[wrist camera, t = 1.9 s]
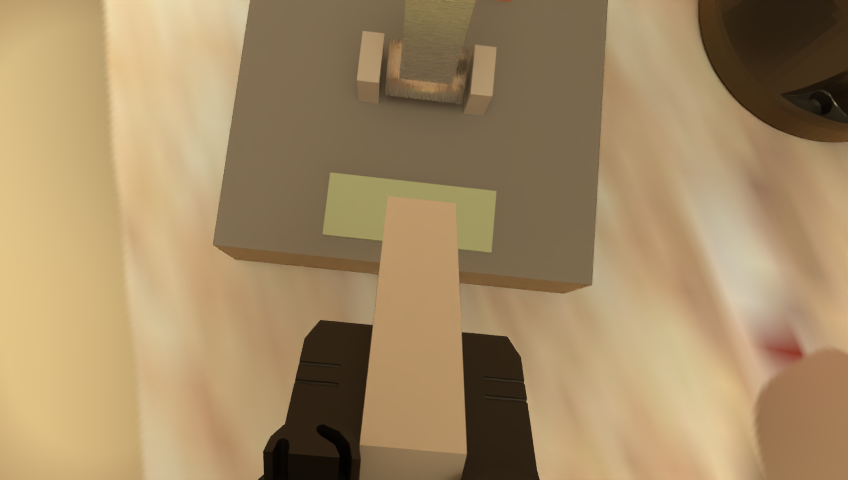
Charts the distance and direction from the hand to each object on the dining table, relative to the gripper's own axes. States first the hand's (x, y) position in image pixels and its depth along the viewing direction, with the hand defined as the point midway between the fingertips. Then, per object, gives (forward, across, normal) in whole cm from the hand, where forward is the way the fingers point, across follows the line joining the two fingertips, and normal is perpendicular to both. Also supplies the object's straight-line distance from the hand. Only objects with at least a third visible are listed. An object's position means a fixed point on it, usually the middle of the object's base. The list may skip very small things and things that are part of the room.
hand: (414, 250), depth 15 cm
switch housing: (+23, 0, -8) cm, 24 cm away
